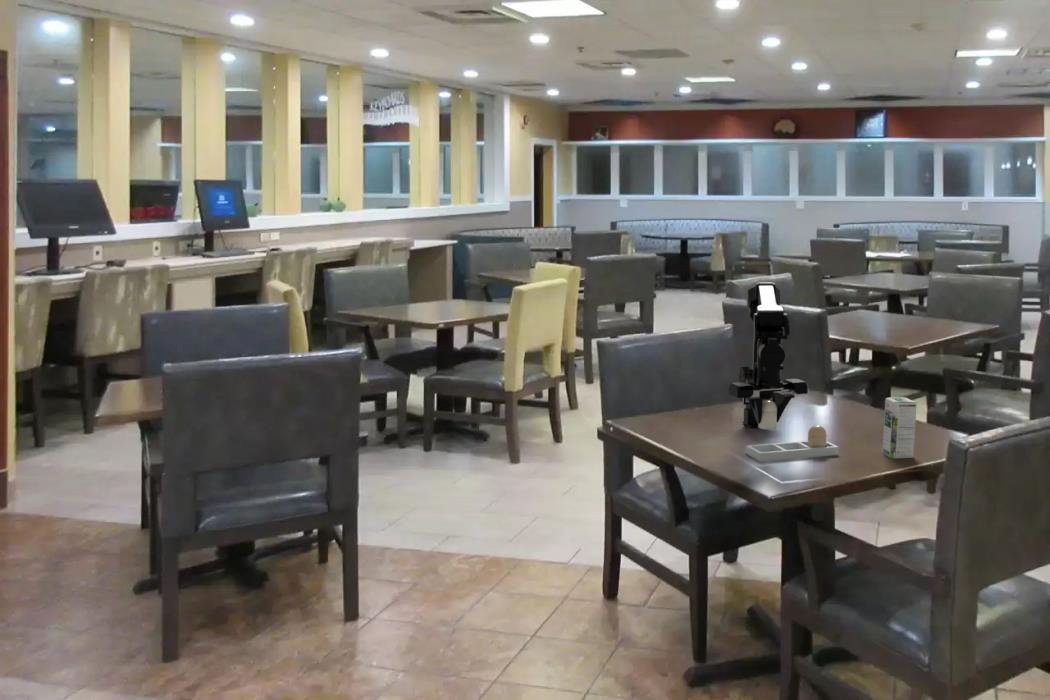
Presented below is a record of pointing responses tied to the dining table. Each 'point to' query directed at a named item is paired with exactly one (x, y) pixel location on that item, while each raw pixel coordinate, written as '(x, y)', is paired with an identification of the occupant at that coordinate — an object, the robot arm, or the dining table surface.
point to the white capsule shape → (768, 415)
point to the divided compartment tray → (789, 451)
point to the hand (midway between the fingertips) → (767, 422)
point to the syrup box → (899, 427)
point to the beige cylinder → (817, 437)
